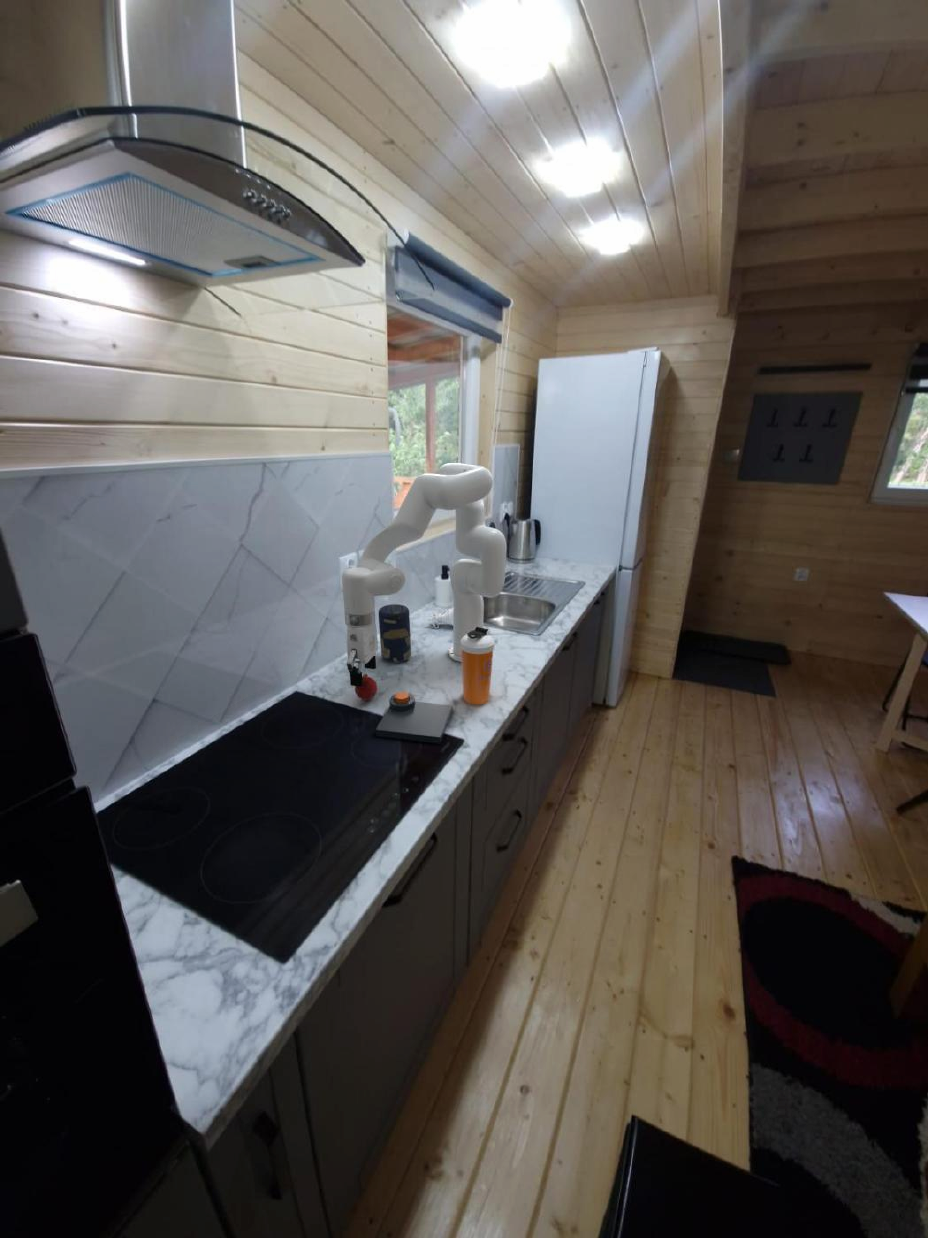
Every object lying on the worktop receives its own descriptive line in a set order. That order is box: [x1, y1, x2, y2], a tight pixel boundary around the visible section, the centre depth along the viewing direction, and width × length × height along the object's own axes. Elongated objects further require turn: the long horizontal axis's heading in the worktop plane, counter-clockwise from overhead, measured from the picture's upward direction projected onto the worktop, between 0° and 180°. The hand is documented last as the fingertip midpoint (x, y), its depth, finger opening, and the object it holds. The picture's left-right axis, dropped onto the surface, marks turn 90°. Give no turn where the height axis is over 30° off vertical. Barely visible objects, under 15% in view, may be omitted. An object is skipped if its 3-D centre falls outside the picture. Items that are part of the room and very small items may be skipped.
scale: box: [375, 692, 453, 745], centre depth 124 cm, size 15×16×4 cm
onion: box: [354, 673, 378, 702], centre depth 133 cm, size 6×6×8 cm
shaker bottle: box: [461, 627, 495, 706], centre depth 132 cm, size 9×9×20 cm
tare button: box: [394, 691, 410, 704], centre depth 128 cm, size 4×4×2 cm
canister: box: [378, 603, 412, 663], centre depth 155 cm, size 10×10×18 cm
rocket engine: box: [426, 607, 453, 629], centre depth 181 cm, size 12×12×18 cm
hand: (363, 676), depth 131 cm, fingers open, 9 cm apart
